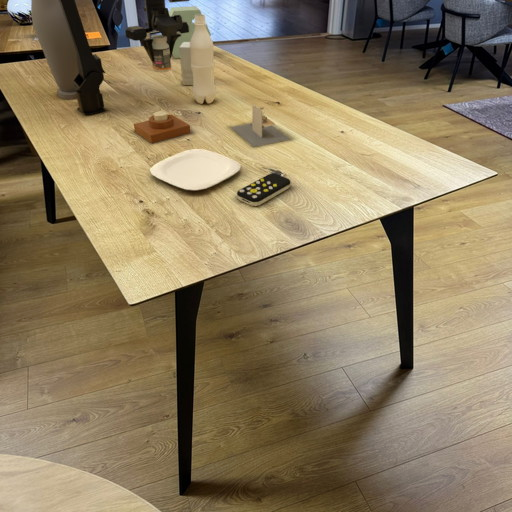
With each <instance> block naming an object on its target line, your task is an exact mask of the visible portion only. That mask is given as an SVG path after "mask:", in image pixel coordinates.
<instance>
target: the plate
mask: <svg viewBox="0 0 512 512" xmlns="http://www.w3.org/2000/svg"><path fill="white" fill-rule="evenodd" d="M241 169H242V165H241V164H240V163H239V162H238V161H237V160H235V159H233V158H231V157H228V156H226V155H223V154H220V153H218V152H215V151H212V150H208V149H202V148H192V149H185V150H184V151H180V152H178V153H175V154H172V155H171V156H169V157H167V158H165V159H162V160H160V161H158V162H157V163H155V164H153V165H152V167H150V169H149V172H150V174H151V176H153V177H155V178H156V179H158V180H159V181H161V182H164V183H166V184H168V185H170V186H173V187H175V188H176V189H177V188H178V189H181V190H184V191H191V192H199V191H203V190H207V189H210V188H213V187H214V186H215V187H216V186H218V185H219V184H220V183H223V182H225V181H227V180H228V179H230V178H231V177H234V175H236V174H237V173H239V172H240V170H241Z"/></svg>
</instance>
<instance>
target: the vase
mask: <svg viewBox="0 0 512 512" xmlns="http://www.w3.org/2000/svg"><path fill="white" fill-rule="evenodd" d="M30 3H31V4H30V15H31V21H32V25H33V30H34V33H35V35H36V37H37V40H38V43H39V45H40V48H41V49H42V53H43V55H44V58H45V60H46V63H47V65H48V67H49V69H50V72H51V74H52V77H53V79H54V81H55V84H56V85H57V87H58V88H57V95H58V97H59V98H61V99H64V100H75V99H76V100H77V96H76V90H79V89H78V88H77V87H76V85H75V84H74V82H73V80H74V79H75V78H76V76H77V75H78V73H79V70H78V64H77V52H76V49H75V46H74V43H73V40H72V37H71V34H70V32H69V29H68V26H67V23H66V20H65V17H64V14H63V11H62V8H61V5H60V2H59V0H31V1H30Z"/></svg>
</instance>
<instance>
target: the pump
mask: <svg viewBox="0 0 512 512" xmlns="http://www.w3.org/2000/svg"><path fill="white" fill-rule="evenodd" d="M167 114H168V112H167V111H163V110H157V111H156V112H155V111H154V113H153V115H154V120H155V121H164V120H167V119H168V116H167Z"/></svg>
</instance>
